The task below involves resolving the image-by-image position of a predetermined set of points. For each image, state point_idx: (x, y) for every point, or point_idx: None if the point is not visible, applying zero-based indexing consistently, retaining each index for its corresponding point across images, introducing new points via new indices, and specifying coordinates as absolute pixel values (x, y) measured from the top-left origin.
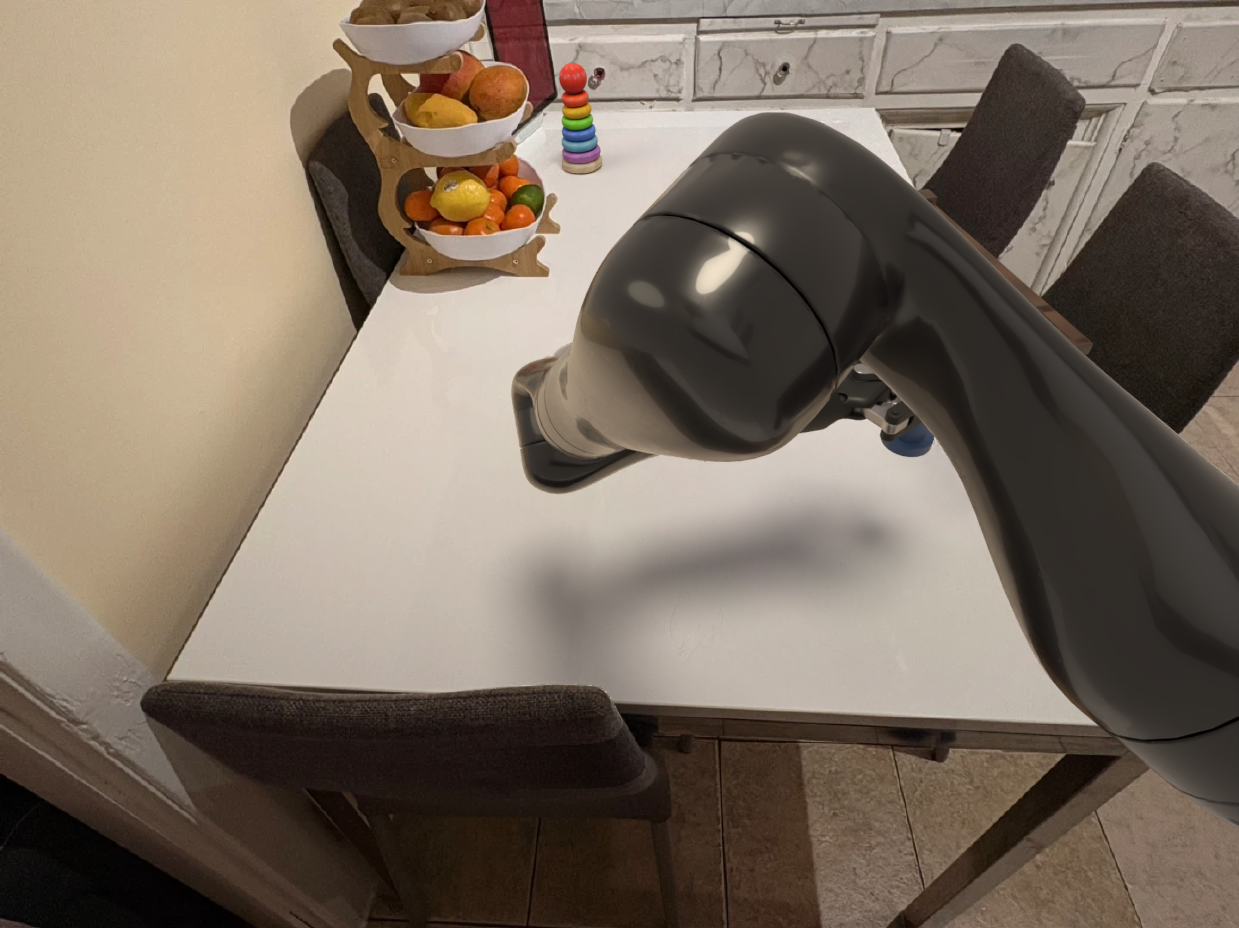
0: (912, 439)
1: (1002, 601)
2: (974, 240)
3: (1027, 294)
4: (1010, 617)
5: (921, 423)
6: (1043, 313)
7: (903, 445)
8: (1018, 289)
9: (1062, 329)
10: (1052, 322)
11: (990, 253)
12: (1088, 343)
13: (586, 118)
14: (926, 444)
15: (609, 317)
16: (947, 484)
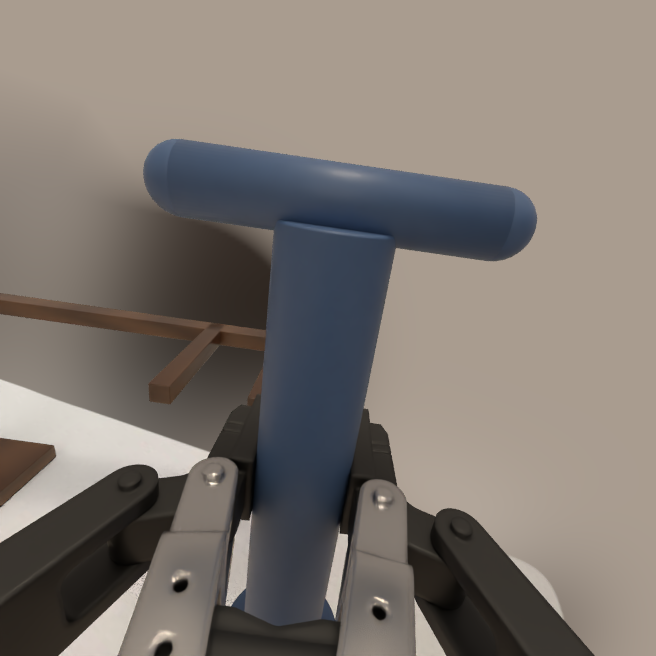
0: None
1: (418, 642)
2: (49, 300)
3: (181, 323)
4: (443, 650)
5: (324, 601)
6: (221, 331)
7: None
8: (166, 322)
9: (257, 335)
10: (240, 334)
11: (86, 305)
12: None
13: None
14: (328, 615)
15: None
16: (229, 578)
